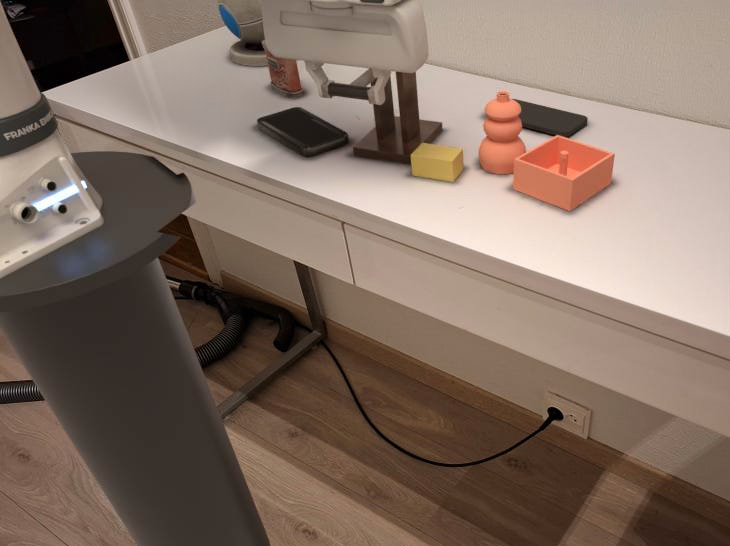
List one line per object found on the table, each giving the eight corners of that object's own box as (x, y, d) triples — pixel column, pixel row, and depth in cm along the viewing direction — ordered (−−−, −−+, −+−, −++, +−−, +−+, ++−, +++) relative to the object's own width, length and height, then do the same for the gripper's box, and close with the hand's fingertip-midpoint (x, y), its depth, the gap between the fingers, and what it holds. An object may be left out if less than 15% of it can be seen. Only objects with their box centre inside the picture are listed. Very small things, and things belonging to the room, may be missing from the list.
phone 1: (304, 150, 95) (254, 119, 103) (306, 158, 96) (255, 126, 104) (351, 134, 99) (299, 105, 107) (352, 141, 99) (300, 112, 108)
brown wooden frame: (411, 164, 94) (402, 62, 85) (353, 155, 96) (338, 55, 87) (442, 130, 102) (438, 34, 93) (389, 123, 105) (379, 28, 95)
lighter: (266, 87, 117) (253, 25, 110) (284, 82, 118) (271, 20, 112) (290, 99, 112) (278, 36, 106) (308, 94, 114) (297, 31, 107)
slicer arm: (369, 106, 83) (366, 86, 81) (329, 100, 84) (326, 81, 82) (414, 65, 92) (413, 47, 91) (378, 61, 94) (376, 43, 92)
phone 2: (509, 97, 110) (590, 116, 103) (509, 102, 110) (590, 122, 104) (483, 112, 105) (566, 133, 99) (483, 117, 106) (566, 139, 99)
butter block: (453, 182, 90) (452, 161, 88) (412, 175, 92) (410, 154, 90) (463, 169, 93) (463, 148, 91) (423, 163, 94) (422, 142, 92)
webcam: (312, 54, 129) (297, -34, 119) (252, 71, 123) (231, -21, 112) (277, 39, 136) (260, -46, 126) (219, 54, 130) (196, -34, 120)
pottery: (611, 183, 89) (620, 110, 83) (569, 211, 84) (576, 135, 77) (505, 146, 98) (506, 77, 91) (462, 169, 93) (460, 98, 86)
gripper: (239, -25, 75) (267, 99, 84) (406, -11, 70) (416, 119, 79) (270, -38, 79) (293, 81, 89) (429, -26, 74) (436, 99, 84)
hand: (352, 99), depth 84 cm, fingers closed on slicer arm, 5 cm apart
